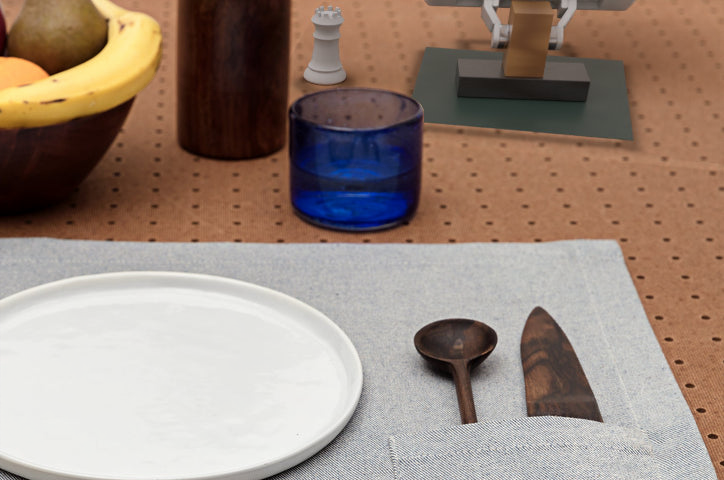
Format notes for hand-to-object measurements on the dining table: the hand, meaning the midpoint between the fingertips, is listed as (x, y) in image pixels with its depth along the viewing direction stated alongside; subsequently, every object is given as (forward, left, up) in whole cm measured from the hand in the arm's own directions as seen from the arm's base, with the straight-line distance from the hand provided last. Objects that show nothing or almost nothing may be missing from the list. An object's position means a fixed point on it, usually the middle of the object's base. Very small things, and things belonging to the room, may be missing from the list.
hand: (526, 47), depth 101 cm
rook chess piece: (+19, 0, -6) cm, 20 cm away
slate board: (0, -1, -6) cm, 6 cm away
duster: (0, 0, -4) cm, 4 cm away
